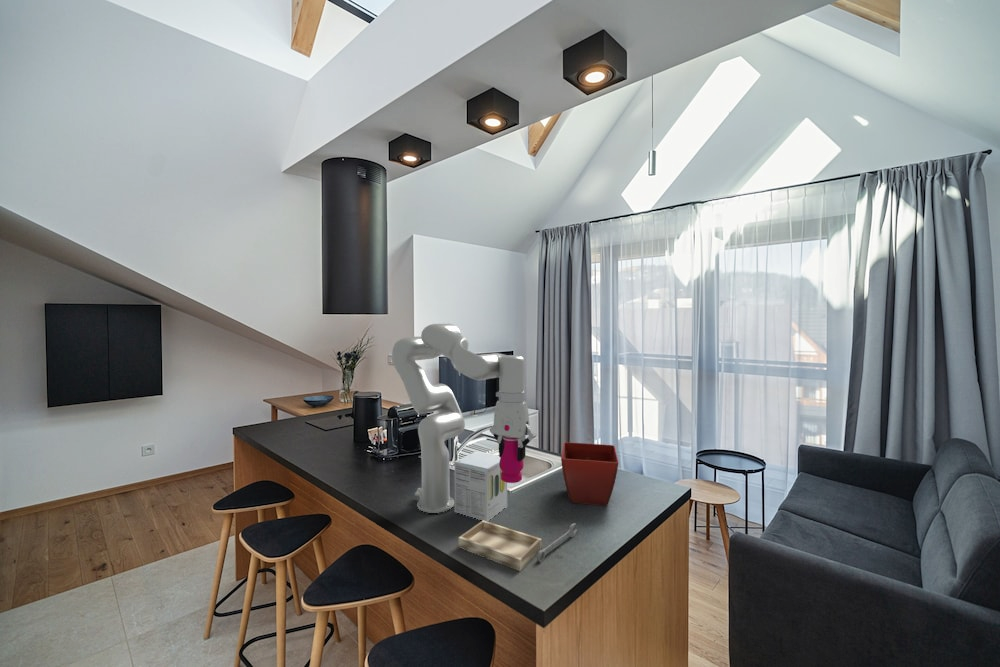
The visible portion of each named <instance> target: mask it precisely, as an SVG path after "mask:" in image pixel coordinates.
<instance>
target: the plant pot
mask: <svg viewBox="0 0 1000 667" xmlns="http://www.w3.org/2000/svg"><path fill="white" fill-rule="evenodd" d="M560 461H561V468H562V470H561V471H562V474H563V480H564V484H565V488H566V491H567V496H568V498H569V501H570V503H573V504H582V505H594V506H604V507H605V506H608V505H609V501H610V500H611V496H612V494H613V491H614V489H615V488H614V487H615V483H616V478H617V474H618V469H619V459H618V455H617V451H616V446H615V444H614V445H611V444H602V443H601V444H600V443H585V442H584V443H583V442H568V441H567V442H563V444H562V451H561V457H560Z"/></svg>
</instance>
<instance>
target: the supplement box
mask: <svg viewBox="0 0 1000 667" xmlns="http://www.w3.org/2000/svg"><path fill="white" fill-rule="evenodd" d="M500 458H501V457H499V454H498V455H497V454H493V453H489V452H483V451H478V450H476V451H474V452H472V453H470V454H468V455H465V456H463V457H461V458H459V459H457V460H455V461H454V513H455V512H457V513H460V514H459V515H461V514H463V515H462V516H464V515H466V516H465V517H467V516H470V517H473V518H472V519H474V518H476V519H475V520H477V519H479V520H478V521H480V520H484V521H487V522H489V521H491V520H492V519H493V518H495V517H496V516H497V515H499V514H500V513H501V512H503V511H504V510H505V509H507V508H508V483H507V482H504V481H502V480H501V472H502V470H501V469H500V467H499V462H500ZM504 508H505V509H504ZM503 509H504V510H503ZM499 512H500V513H499ZM457 513H456V514H457ZM498 513H499V514H498ZM495 515H496V516H495ZM494 516H495V517H494ZM470 517H469V518H470ZM490 519H491V520H490Z"/></svg>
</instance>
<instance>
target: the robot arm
mask: <svg viewBox="0 0 1000 667" xmlns="http://www.w3.org/2000/svg"><path fill="white" fill-rule="evenodd" d="M468 349H469V342H468V339H467V338H466V337H465V336H463V335H462V334H461V330H460V328H458V326H456V325H455V324H452V323H432V324H429V325H427V326H425V327H424V328H423V329H422V331H421V336H407V337H403V338H400V339H398V340H397V341H396V342H395V343H394V344H393V348H392V349H391V350H392V351H391V359H392V364H393V366H394V368H395V371H396V372H397V374H398V375H399V378H400V379H401V381H402V383H403V385H404V388H405V391H406V393H407V396H408V398H409V401H410V404H411V406H412V407H413V410H414V411H415V412H416V413H417V414H421V415H423V414H428V413H434V412H436V411H437V413H434V414H430V415H427V416H426V417H424V418H422V420H420V422H419V424H418V428H417V434H418V438H419V439H418V440H419V443H420V450H421V452H420V453H421V457H420V462H421V487H418V488H417V489H416V492H414V496H415V497H419V500H418V502H417V504H416V507H418V508H417V509H419V510H418V511H420V510H421V511H423V512H422V513H424V512H428V513H438V514H440V513H439V512H443V513H445V512H444V511H446V512H448V511H447V510H449V509H450V510H452V509H453V508H452V507H455V499H454V498H453V497H451V494H450V491H451V490H450V488H451V487H450V485H451V484H450V477H451V476H450V472H451V471H450V452H449V449H448V447H447V446H446V443H445V441H447V440H449V439H453V438H456V437H458V436H460V435H461V434H462V433H463V432H464V431H465V428H466V423H465V422H466V421H465V418H464V415H463V412H462V410H461V408H460V406H459V403H458V401H457V399H456V397H455V394H454V392H453V391H452V389H451V388H450V387H449V386H448V385H447V384H444V383H434V384H433V383H431V382H430V381H429V378H428V376H427V373H426V371H425V370H424V369H423V368H422V366H420V365H419V364H418V363H417V362H416V361H422V360H423V361H424V360H430V359H431V360H432V359H436V358H438V357H440V356H443V357H445V358H448V359H449V360H450V362H451V365H452V366H453V368H454V369H455V370H456V371H457V372H459V373H460V374H462V375H464V376H466V377H468V378H470V379H472V380H475V381H485V380H490V379H496V378H499V387H498V389H499V390H498V391H496V392H495V397H498V400H497V401H496V403H495V408H494V414H493V425H492V426H491V427H490V428H489V432H490V433H491V435H493V438H494V439H495V440H496V443H497V444H498V455H499V457H501V456H502V453H503V451H504V445H505V441H504V439H503V436H505V437H511V438H517V440H518V446H519V447H518V461H521V460H523V461H524V459H525V458H526V446H528V444H529V443H531V441H532V440H534V439H535V438H536V436H537V435H536V434H535V433H534V430H533V429H532V428H531V427H530V414H529V407H528V404H527V401H526V400H525V399H526V396H525V392H526V390H525V389H526V386H525V384H526V383H525V380H526V378H525V377H526V375H525V373H526V371H525V370H526V368H525V366H526V364H525V358H524V357H523V356H521V355H519V354H518V355H516V354H513V355H512V354H509V355H507V354H503V353H499V352H492V353H483V354H477V353H474V352H472V351H470V350H468ZM505 425H508V426H509V431H505V429H504V427H505ZM526 436H528V437H526ZM451 508H452V509H451ZM450 510H449V511H450ZM421 511H420V512H421ZM428 513H427V514H428Z"/></svg>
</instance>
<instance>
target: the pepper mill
mask: <svg viewBox="0 0 1000 667" xmlns="http://www.w3.org/2000/svg"><path fill="white" fill-rule="evenodd" d="M504 429H505V431H509V426H508V425H505V427H504ZM503 439H504V441H505V445H504V451H503V453H502V456H501V458H500V462H499V467H500V469H501V470H502V472H501V480H502V481H504V482H507V484H514V483H516V484H517V483H519V482H521V481H522V479H523V473H522V470H523V469H524V459H523V460H521V461H518V447H519V443H518V440H517V438H511V437H505V436H503Z"/></svg>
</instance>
